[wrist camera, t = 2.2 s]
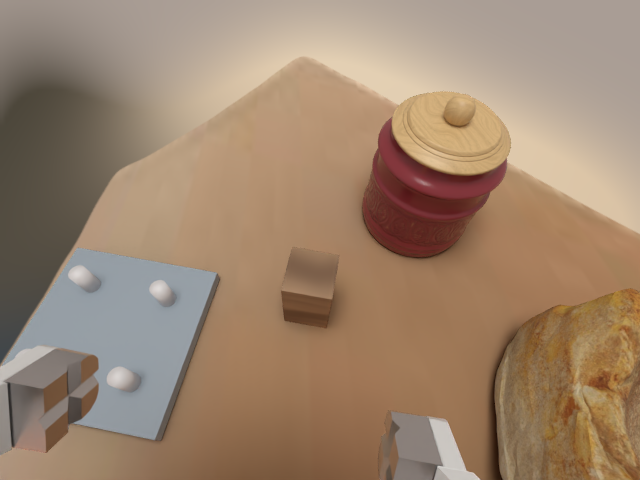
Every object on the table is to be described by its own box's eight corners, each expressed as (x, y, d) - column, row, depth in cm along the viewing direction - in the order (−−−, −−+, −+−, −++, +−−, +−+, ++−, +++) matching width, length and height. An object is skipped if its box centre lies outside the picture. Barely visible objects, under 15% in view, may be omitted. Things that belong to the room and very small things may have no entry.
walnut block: (326, 328, 36) (332, 299, 30) (284, 320, 37) (281, 290, 30) (332, 289, 39) (339, 254, 32) (293, 282, 39) (292, 246, 32)
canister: (354, 180, 48) (379, 54, 33) (444, 177, 49) (509, 55, 34) (368, 262, 41) (408, 152, 26) (473, 258, 42) (570, 149, 27)
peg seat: (161, 440, 30) (140, 438, 26) (-10, 405, 31) (-53, 398, 27) (219, 278, 39) (211, 259, 35) (84, 254, 39) (61, 233, 36)
